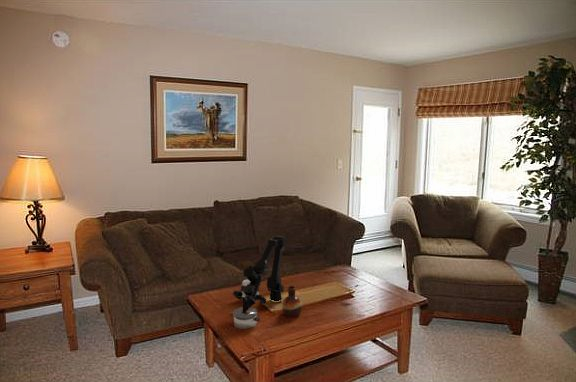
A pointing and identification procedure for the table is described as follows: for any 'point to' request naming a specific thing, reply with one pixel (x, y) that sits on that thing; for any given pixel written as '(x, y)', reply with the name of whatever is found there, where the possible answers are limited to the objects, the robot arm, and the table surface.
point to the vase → (291, 303)
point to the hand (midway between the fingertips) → (243, 312)
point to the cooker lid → (248, 314)
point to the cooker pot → (245, 322)
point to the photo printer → (246, 285)
